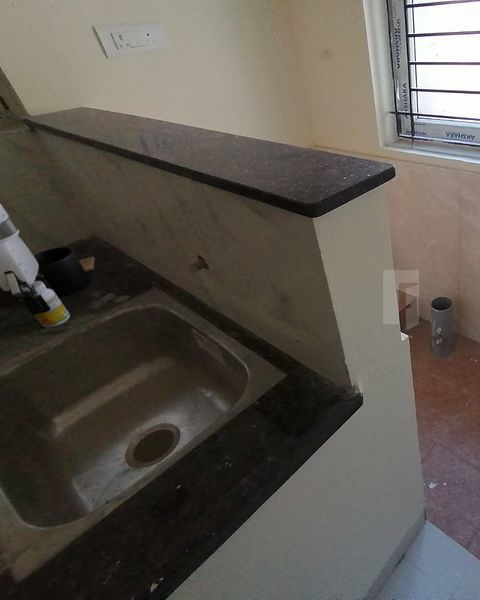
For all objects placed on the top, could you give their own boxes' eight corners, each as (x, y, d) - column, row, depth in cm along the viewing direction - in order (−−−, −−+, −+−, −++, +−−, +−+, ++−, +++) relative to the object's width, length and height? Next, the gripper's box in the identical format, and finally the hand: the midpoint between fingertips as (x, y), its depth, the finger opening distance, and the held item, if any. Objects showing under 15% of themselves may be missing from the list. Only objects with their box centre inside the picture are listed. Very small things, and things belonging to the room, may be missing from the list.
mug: (34, 288, 99) (12, 258, 94) (89, 272, 105) (71, 243, 100) (34, 306, 93) (10, 275, 88) (92, 288, 99) (73, 257, 94)
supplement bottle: (36, 324, 88) (9, 290, 82) (61, 310, 92) (36, 276, 86) (51, 330, 86) (25, 295, 80) (75, 316, 90) (52, 281, 84)
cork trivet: (63, 277, 104) (61, 275, 103) (65, 265, 108) (64, 263, 108) (93, 269, 106) (92, 267, 106) (94, 258, 111) (93, 256, 111)
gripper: (-23, 219, 80) (29, 289, 91) (-48, 255, 68) (16, 331, 79) (22, 210, 83) (67, 280, 93) (6, 244, 71) (60, 319, 81)
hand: (43, 303), depth 86 cm, fingers open, 6 cm apart
